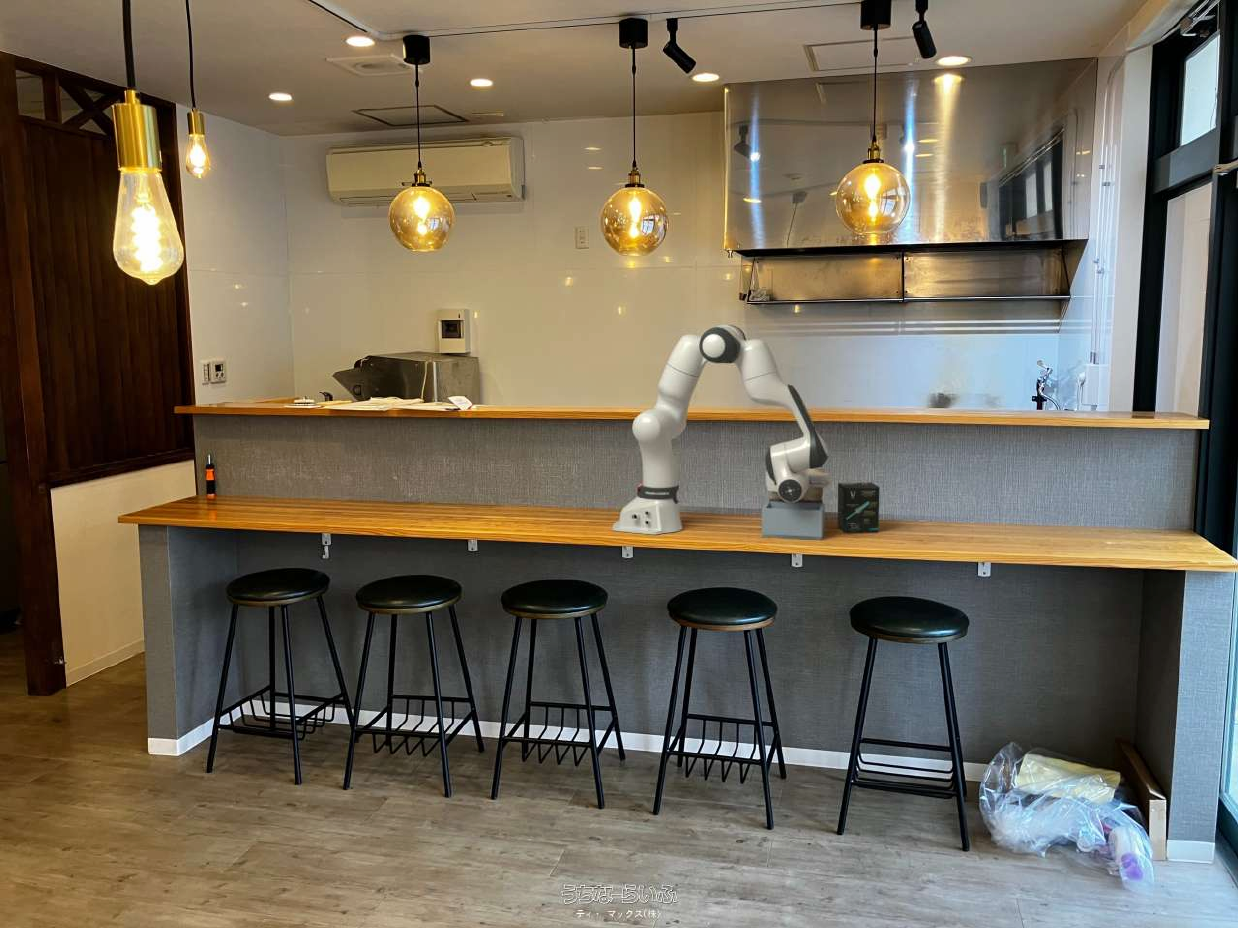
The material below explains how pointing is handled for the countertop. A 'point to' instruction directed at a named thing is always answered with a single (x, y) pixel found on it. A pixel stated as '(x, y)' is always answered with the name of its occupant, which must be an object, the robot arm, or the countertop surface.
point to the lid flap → (811, 495)
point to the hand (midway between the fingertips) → (799, 475)
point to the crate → (793, 520)
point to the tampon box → (858, 507)
